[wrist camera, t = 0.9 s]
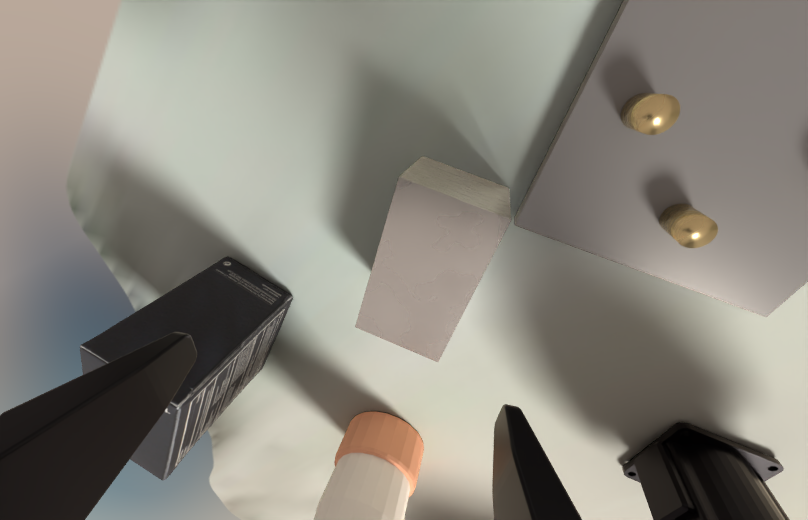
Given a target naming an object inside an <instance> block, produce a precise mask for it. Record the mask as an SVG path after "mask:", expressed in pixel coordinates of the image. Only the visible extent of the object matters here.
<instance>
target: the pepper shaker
mask: <svg viewBox="0 0 808 520" xmlns="http://www.w3.org/2000/svg"><path fill="white" fill-rule="evenodd" d="M423 451H424V447H423V441H422V439H421V437H420V436H419V434H418V432H417V431H416V430H415V429H414V428H413V427H412V426H410V425H409V424H408V423H406V422H405V421H403V420H401V419H400V418H398V417H395V416H392V415H390V414H387V413H382V412H375V411H373V412H363V413H361V414H358V415H356V416H355V417H354V418H353V419H352V420H351V422H350V424H349V426H348V429H347V431H346V433H345V435H344V438H343V440H342V442H341V444H340V447H339V449H338V451H337V453H336V457H335V469H334V471H333V473H332V476H331V478H330V480H329V482H328V484H327V486H326V488H325V491H324V493H323V495H322V497H321V499H320V501H319V504H318V507H317V510H316V514H315V517H314V520H404V518H405V513H406V508H407V503H408V497H410V496H411V495H412V494H413V492H414V490H415V487H416V484H417V479H418V474H419V470H420V465H421V460H422V456H423Z"/></svg>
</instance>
